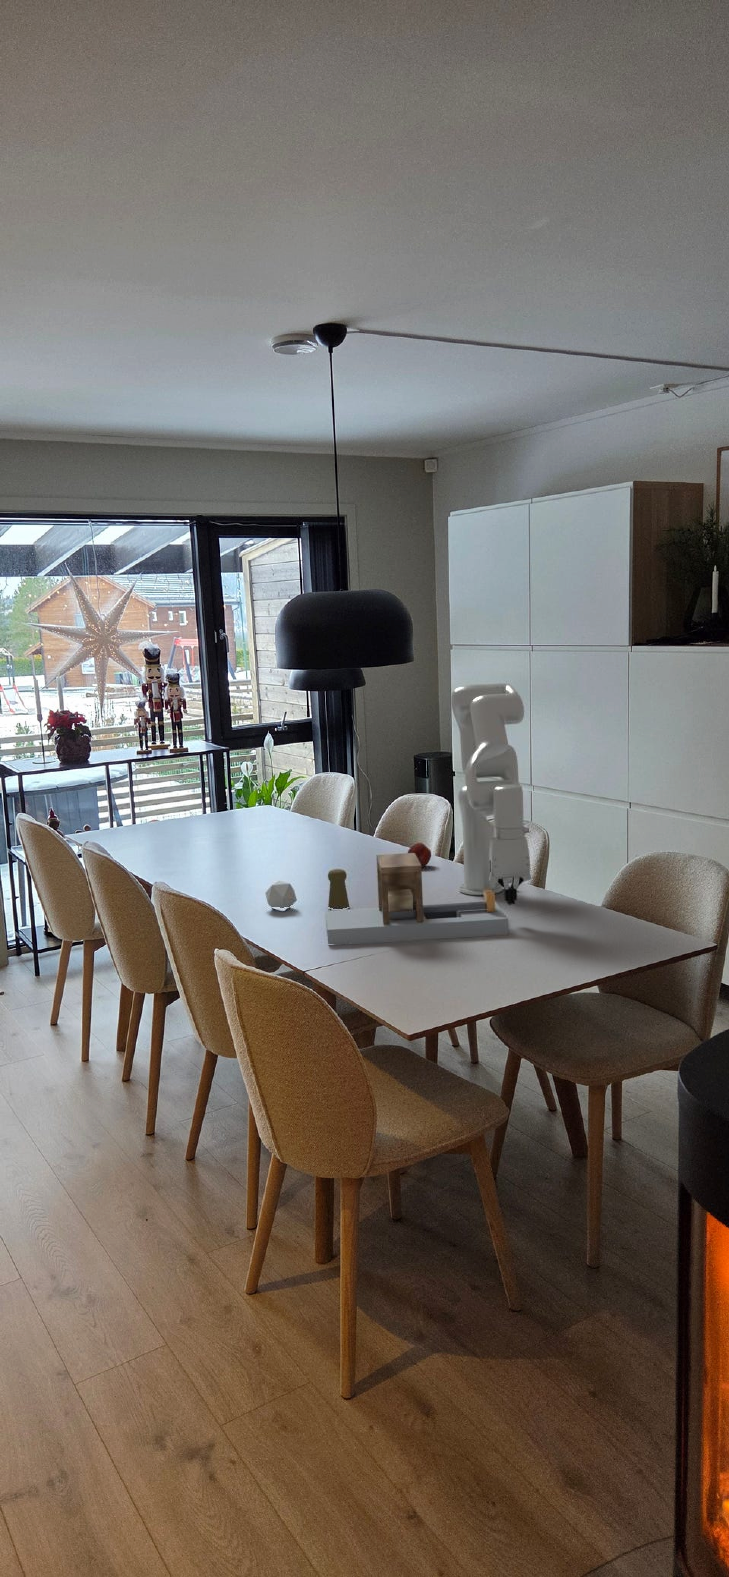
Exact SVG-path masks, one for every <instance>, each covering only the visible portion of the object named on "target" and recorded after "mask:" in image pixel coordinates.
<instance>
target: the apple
mask: <svg viewBox="0 0 729 1577" xmlns="http://www.w3.org/2000/svg"><path fill="white" fill-rule="evenodd" d="M407 853H415V855H416V856H417V858H418V860H419V862H420V864H421V868H424V867H426V866H427V865H428V864H429V862H430V861H431V858H432V852H431V849H430V848H428V846H426V845H425V843H423V842H417V843H414V844H413V845H412V846H411V847H409V849H408V851H407Z"/></svg>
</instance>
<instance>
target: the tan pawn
mask: <svg viewBox="0 0 729 1577" xmlns="http://www.w3.org/2000/svg"><path fill="white" fill-rule="evenodd" d="M327 879H328V881H329V892H328V904H327V905H328V906H327V908H328V907H330V908H333V909H343V908H347V907H350V902H349V896H348V891H347V886H346V879H347V872H346V871H345V870H344V869H342V868H341V869H340V868H334V869H331V870H329V871H328V874H327Z"/></svg>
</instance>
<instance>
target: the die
mask: <svg viewBox="0 0 729 1577" xmlns="http://www.w3.org/2000/svg"><path fill="white" fill-rule="evenodd" d="M265 897H266V898H265V899H266V901H267V904H268V905H269V907H270V906H271V907H280V908H284V907H290V906H291V905H292V906H293V905H294V904H295V903H296V901H298V900H297V896H296V892H295V889H294V888H293V886H292V884H291V883H290V882H285V881H281V880H278V881H276V882H275V883H274V884H272V885H270V886H269V888H268V889H267V890H266V891H265ZM292 906H291V907H292ZM271 907H270V908H271ZM291 907H290V908H291Z"/></svg>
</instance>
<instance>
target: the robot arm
mask: <svg viewBox="0 0 729 1577" xmlns="http://www.w3.org/2000/svg"><path fill="white" fill-rule="evenodd" d="M450 700H451V702H450V703H451V709H452V714H453V715H454V718H455V722H456V723H457V724H456V725H457V727H458V730H459V738H460V739H459V740H460V743H459V744H460V757H461V758H460V759H461V768H462V769H461V770H462V772H463V774H464V777H465V778H464V781H465V782H464V783H465V785H464V786H462V787H461V788H460V790H459V792H458V804H459V810H460V816H461V823H462V824H461V825H462V826H461V827H462V842H463V843H462V844H463V846H462V847H463V852H462V853H463V873H464V874H463V877H464V879H463V880H464V883H462V884H461V885H459V886H458V888H459V890H458V891H459V892H460V893H463V894H465V895H468V896H469V895H471V896H484V892H483V890H488V889H491V890H492V891H493V892H494V894H499V893H500V892H502V891H503V895H504V896H503V899H504V901H506V903H507V905H509V906H510V905H516V901H517V900H518V891H517V890H518V888H519V886H521V885H522V884H523V882H527V881H529V880H531V879H532V876H531V860H530V858H531V857H530V849H529V844H528V839H527V837H526V836H525V835H526V834H528V833H530V827H525V826H524V823H525V821H524V790H523V786H521V785H520V781H519V780H520V779H519V766H518V764H519V763H518V762H519V761H518V756H517V752H516V750H515V748H514V747H513V746H512V745H510V744H509V741H508V736H507V730H506V729H507V728H506V726H505V725H518V724H520V723H521V722H523V720H524V717H525V706H524V702H523V700H522V697H521V696H520V694H519V692H518V691H517V690H516V689H515V688H514V687H513V686H512V685H511V684H509V683H486V684H485V683H484V684H481V683H480V684H467V685H462V686H459V687H456V688H454V690H453V691H452V693H451V696H450ZM489 778H500V780H497V779H496V780H482V781H479V780H478V779H489ZM490 816H493V824H492V823H491V822H490V821H489V820H488V818H487V817H490ZM509 884H510V885H509Z"/></svg>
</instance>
